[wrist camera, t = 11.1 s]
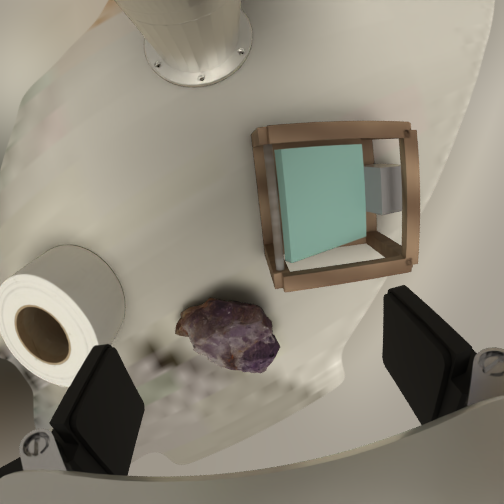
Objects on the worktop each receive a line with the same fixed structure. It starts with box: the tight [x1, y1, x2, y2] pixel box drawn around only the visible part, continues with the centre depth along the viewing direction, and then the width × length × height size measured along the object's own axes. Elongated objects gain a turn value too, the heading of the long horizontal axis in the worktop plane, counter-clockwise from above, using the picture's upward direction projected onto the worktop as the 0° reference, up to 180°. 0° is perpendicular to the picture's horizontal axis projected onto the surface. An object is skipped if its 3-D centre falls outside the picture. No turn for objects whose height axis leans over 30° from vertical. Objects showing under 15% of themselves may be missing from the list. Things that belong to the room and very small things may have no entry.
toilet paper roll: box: [0, 245, 125, 387], centre depth 34 cm, size 16×15×11 cm
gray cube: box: [363, 164, 402, 215], centre depth 33 cm, size 5×5×5 cm
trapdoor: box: [274, 144, 366, 263], centre depth 31 cm, size 10×11×1 cm
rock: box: [175, 298, 280, 373], centre depth 37 cm, size 12×9×10 cm
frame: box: [251, 121, 420, 292], centre depth 31 cm, size 14×14×11 cm
